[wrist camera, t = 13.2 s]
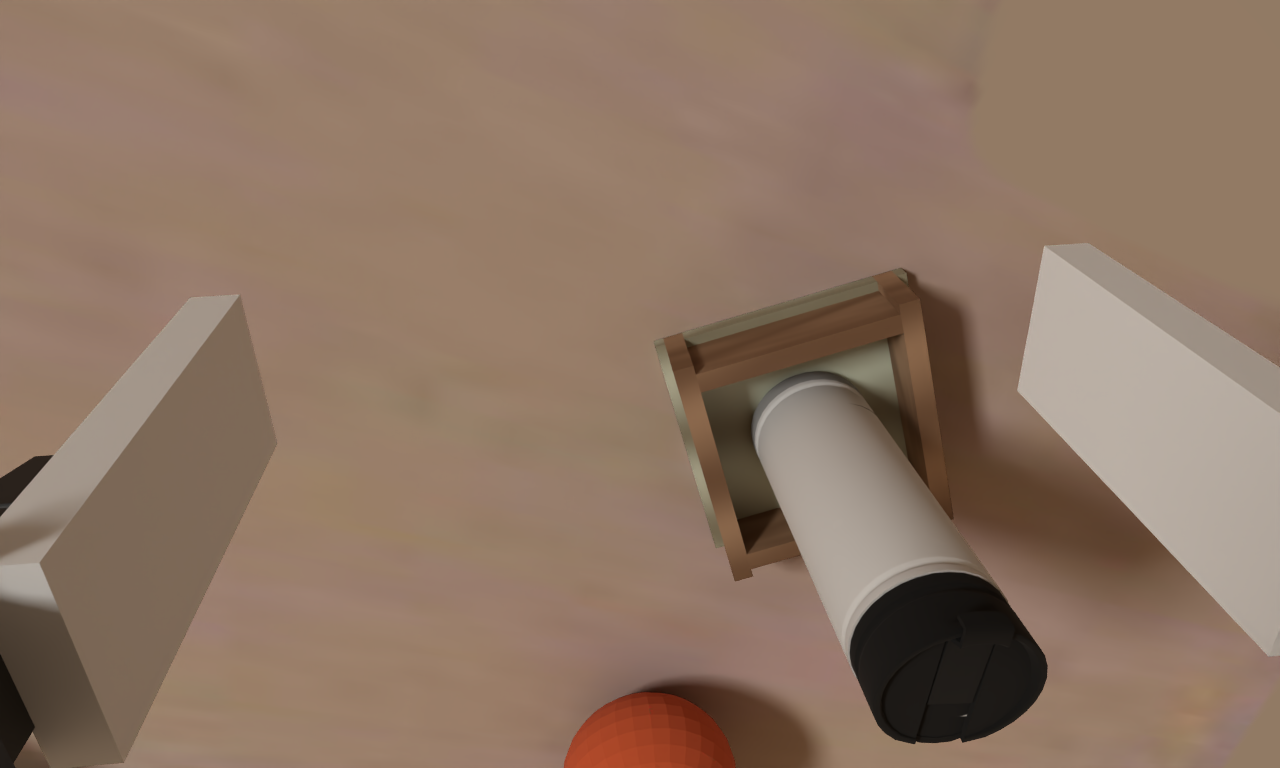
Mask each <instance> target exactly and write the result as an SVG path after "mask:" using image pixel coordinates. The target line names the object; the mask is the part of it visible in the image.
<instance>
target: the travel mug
mask: <svg viewBox="0 0 1280 768" xmlns="http://www.w3.org/2000/svg"><path fill="white" fill-rule="evenodd" d="M751 437H752V442H753V446H754V448H755V450H756V452H757V455H758V457H759V459H760V461H761V464H762V466H763V468H764V471H765V473H766V475H767V477H768V480H769V482H770V484H771V487H772V489H773V491H774V493H775V496H776V498H777V500H778V503H779V505H780V507H781V509H782V512H783V514H784V516H785V519H786V521H787V523H788V525H789V528H790V530H791V532H792V535H793V537H794V539H795V541H796V544H797V546H798V548H799V551H800V553H801V555H802V557H803V560H804V562H805V564H806V567H807V569H808V571H809V573H810V576H811V578H812V580H813V583H814V585H815V587H816V589H817V592H818V594H819V596H820V599H821V601H822V603H823V605H824V608H825V610H826V612H827V614H828V617H829V619H830V621H831V624H832V626H833V628H834V630H835V633H836V635H837V637H838V640H839V642H840V644H841V646H842V649H843V651H844V653H845V655H846V658H847V660H848V662H849V665H850V667H851V669H852V671H853V674H854V676H855V677H856V678H857V679H858V681H859V683H860V686H861V688H862V691H863V693H864V695H865V697H866V700H867V702H868V704H869V706H870V709H871V711H872V713H873V716H874V718H875V720H876V722H877V724H878V726H879V727H880V728H881V729H882V730H883V731H884V733H886V734H887V735H889V736H890V737H892V738H893V739H895V740H898V741H903V742H907V743H911V744H915V742H916V741H917V742H921V743H940V742H949V741H953V740H956V739H958V738H961V740H962V742H967V741H971V740H975V739H979V738H983V737H986V736H988V735H990V734H993V733H995V732H997V731H999V730H1001V729H1002V728H1004V727H1006V726H1007V725H1009V724H1011V723H1012V722H1014V721H1015V720H1016V719H1017V718H1019V717H1020V716H1021V715H1022V714H1024V713H1025V712H1026V711H1027V710H1028V709H1029V708H1030V707H1031V705H1032V704H1033V703H1034V702H1035V701H1036V700H1037V698H1038V696H1039V695H1040V693H1041V692H1042V690H1043V687H1044V684H1045V682H1046V679H1047V662H1046V658H1045V655H1044V653H1043V652H1042V650H1041V649H1040V647H1039V646H1038V645H1037V643H1036V642H1035V640H1034V639H1033V638H1032V636H1031V635H1030V633H1029V632H1028V630H1027V629H1026V628H1025V626H1024V625H1023V623H1022V622H1021V621H1020V619H1019V618H1018V616H1017V615H1016V613H1015V612H1014V611H1013V610H1012V608H1011V607H1010V605H1009V603H1008V600H1007V599H1006V597H1005V596H1004V594H1003V593H1002V591H1001V590H1000V588H999V587H998V585H997V584H996V583H995V582H994V580H993V579H992V577H991V576H990V574H989V573H988V571H987V570H986V569H985V567H984V566H983V564H982V563H981V562H980V560H979V559H978V557H977V556H976V555H975V553H974V552H973V550H972V549H971V548H970V546H969V545H968V543H967V542H966V541H965V539H964V538H963V536H962V535H961V534H960V532H959V531H958V529H957V528H956V527H955V525H954V524H953V522H952V521H951V520H950V518H949V517H948V515H947V514H946V513H945V511H944V510H943V508H942V507H941V506H940V504H939V503H938V501H937V500H936V499H935V497H934V496H933V494H932V493H931V492H930V490H929V489H928V487H927V486H926V485H925V483H924V482H923V480H922V479H921V477H920V476H919V475H918V473H917V472H916V470H915V469H914V468H913V466H912V465H911V463H910V462H909V461H908V459H907V458H906V456H905V455H904V454H903V452H902V451H901V449H900V448H899V447H898V445H897V444H896V442H895V441H894V440H893V438H892V437H891V435H890V434H889V433H888V431H887V430H886V428H885V427H884V426H883V424H882V423H881V421H880V420H879V419H878V417H877V416H876V414H875V413H874V412H873V410H872V409H871V407H870V406H869V405H868V403H867V402H866V400H865V399H864V398H863V396H862V395H861V393H860V392H859V391H858V389H857V388H856V387H855V386H854V385H853V384H852V383H851V382H850V381H848V380H846V379H845V378H843V377H841V376H839V375H836V374H833V373H830V372H821V371H814V372H805V373H801V374H797V375H794V376H792V377H789V378H787V379H785V380H783V381H782V382H780V383H779V384H777V385H776V386H774V387H773V388H772V389H771V390H770V391H769V392H768V393H767V394H766V395H765V396H764V397H763V399H762V400H761V401H760V403H759V404H758V406H757V408H756V410H755V412H754V415H753V419H752V423H751Z"/></svg>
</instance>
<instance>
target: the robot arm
mask: <svg viewBox="0 0 1280 768" xmlns="http://www.w3.org/2000/svg"><path fill="white" fill-rule="evenodd" d="M1017 391H1018V392H1019V393H1020V394H1021V395H1022V396H1023V397H1024V398H1025V399H1026V400H1027V401H1028V402H1029V403H1030V404H1031V405H1032V407H1033V408H1034V409H1035V410H1036V411H1037V412H1038V413H1039V414H1040V415H1041V416H1042V417H1043V418H1044V419H1045V420H1046V421H1047V422H1048V423H1049V425H1050V426H1051V427H1052V428H1053V429H1054V430H1055V431H1056V432H1057V433H1058V434H1059V435H1060V436H1061V437H1062V438H1063V439H1064V440H1065V441H1066V443H1067V444H1068V445H1069V446H1070V447H1071V448H1072V449H1073V450H1074V451H1075V452H1076V453H1077V454H1078V455H1079V456H1080V457H1081V458H1082V459H1083V461H1084V462H1085V463H1086V464H1087V465H1088V466H1089V467H1090V468H1091V469H1092V470H1093V471H1094V472H1095V473H1096V474H1097V475H1098V476H1099V477H1100V479H1101V480H1102V481H1103V482H1104V483H1105V484H1106V485H1107V486H1108V487H1109V488H1110V489H1111V490H1112V491H1113V492H1114V493H1115V494H1116V495H1117V497H1118V498H1119V499H1120V500H1121V501H1122V502H1123V503H1124V504H1125V505H1126V506H1127V507H1128V508H1129V509H1130V510H1131V511H1132V512H1133V513H1134V515H1135V516H1136V517H1137V518H1138V519H1139V520H1140V521H1141V522H1142V523H1143V524H1144V525H1145V526H1146V527H1147V528H1148V529H1149V530H1150V531H1151V533H1152V534H1153V535H1154V536H1155V537H1156V538H1157V539H1158V540H1159V541H1160V542H1161V543H1162V544H1163V545H1164V546H1165V547H1166V548H1167V549H1168V551H1169V552H1170V553H1171V554H1172V555H1173V556H1174V557H1175V558H1176V559H1177V560H1178V561H1179V562H1180V563H1181V564H1182V565H1183V566H1184V567H1185V569H1186V570H1187V571H1188V572H1189V573H1190V574H1191V575H1192V576H1193V577H1194V578H1195V579H1196V580H1197V581H1198V582H1199V583H1200V584H1201V585H1202V587H1203V588H1204V589H1205V590H1206V591H1207V592H1208V593H1209V594H1210V595H1211V596H1212V597H1213V598H1214V599H1215V600H1216V601H1217V602H1218V603H1219V604H1220V606H1221V607H1222V608H1223V609H1224V610H1225V611H1226V612H1227V613H1228V614H1229V615H1230V616H1231V617H1232V618H1233V619H1234V620H1235V621H1236V622H1237V624H1238V625H1239V626H1240V627H1241V628H1242V629H1243V630H1244V631H1245V632H1246V633H1247V634H1248V635H1249V636H1250V637H1251V638H1252V639H1253V640H1254V642H1255V643H1256V644H1257V645H1258V646H1259V647H1260V648H1261V649H1262V650H1263V651H1264V652H1265V653H1266V654H1267V655H1268V656H1269V657H1270V656H1280V367H1278V366H1277V365H1275V364H1274V363H1272V362H1271V361H1269V360H1267V359H1266V358H1264V357H1263V356H1261V355H1260V354H1258V353H1257V352H1255V351H1254V350H1252V349H1251V348H1249V347H1247V346H1246V345H1244V344H1243V343H1241V342H1240V341H1238V340H1237V339H1235V338H1234V337H1232V336H1231V335H1229V334H1227V333H1226V332H1224V331H1223V330H1221V329H1220V328H1218V327H1217V326H1215V325H1214V324H1212V323H1211V322H1209V321H1207V320H1206V319H1204V318H1203V317H1201V316H1200V315H1198V314H1197V313H1195V312H1194V311H1192V310H1191V309H1189V308H1187V307H1186V306H1184V305H1183V304H1181V303H1180V302H1178V301H1177V300H1175V299H1174V298H1172V297H1171V296H1169V295H1167V294H1166V293H1164V292H1163V291H1161V290H1160V289H1158V288H1157V287H1155V286H1154V285H1152V284H1151V283H1149V282H1147V281H1146V280H1144V279H1143V278H1141V277H1140V276H1138V275H1137V274H1135V273H1134V272H1132V271H1131V270H1129V269H1127V268H1126V267H1124V266H1123V265H1121V264H1120V263H1118V262H1117V261H1115V260H1114V259H1112V258H1111V257H1109V256H1107V255H1106V254H1104V253H1103V252H1101V251H1100V250H1098V249H1097V248H1095V247H1094V246H1092V245H1091V244H1089V243H1083V244H1066V245H1049V246H1044V250H1043V255H1042V261H1041V266H1040V272H1039V277H1038V282H1037V288H1036V293H1035V299H1034V304H1033V309H1032V315H1031V320H1030V325H1029V331H1028V336H1027V342H1026V347H1025V352H1024V358H1023V363H1022V369H1021V374H1020V379H1019V385H1018V390H1017ZM276 445H277V439H276V435H275V431H274V427H273V423H272V419H271V415H270V411H269V407H268V403H267V399H266V396H265V392H264V388H263V384H262V380H261V376H260V372H259V368H258V364H257V360H256V356H255V352H254V348H253V344H252V340H251V336H250V332H249V328H248V324H247V320H246V316H245V312H244V308H243V304H242V300H241V296H240V295H224V296H207V297H191V298H189V300H188V301H187V302H186V303H185V304H184V305H183V307H182V308H181V309H180V310H179V311H178V312H177V313H176V315H175V316H174V317H173V318H172V319H171V320H170V322H169V323H168V324H167V325H166V326H165V327H164V328H163V330H162V331H161V332H160V333H159V334H158V335H157V337H156V338H155V339H154V340H153V341H152V342H151V343H150V345H149V346H148V347H147V348H146V349H145V350H144V352H143V353H142V354H141V355H140V356H139V357H138V358H137V360H136V361H135V362H134V363H133V364H132V365H131V367H130V368H129V369H128V370H127V371H126V372H125V374H124V375H123V376H122V377H121V378H120V379H119V380H118V382H117V383H116V384H115V385H114V386H113V387H112V389H111V390H110V391H109V392H108V393H107V394H106V395H105V397H104V398H103V399H102V400H101V401H100V402H99V404H98V405H97V406H96V407H95V408H94V409H93V410H92V412H91V413H90V414H89V415H88V416H87V417H86V419H85V420H84V421H83V422H82V423H81V424H80V425H79V427H78V428H77V429H76V430H75V431H74V432H73V434H72V435H71V436H70V437H69V438H68V439H67V441H66V442H65V443H64V444H63V445H62V446H61V447H60V449H59V450H58V451H57V452H56V453H55V454H54V455H49V456H35V457H33V458H32V459H30V460H28V461H27V462H25V463H24V464H22V465H21V466H19V467H17V468H16V469H14V470H13V471H11V472H9V473H8V474H6V475H5V476H3V477H2V478H0V768H15V766H14V764H13V763H14V761H15V760H16V758H17V756H18V755H19V753H20V751H21V750H22V748H23V746H24V745H25V743H26V741H27V740H28V738H29V737H30V735H31V733H32V732H33V733H34V735H35V737H36V739H37V741H38V743H39V746H40V748H41V750H42V752H43V754H44V756H45V758H46V760H47V762H48V764H49V766H50V768H72V767H83V766H93V765H104V764H115V763H124V761H125V759H126V757H127V755H128V753H129V751H130V749H131V747H132V745H133V743H134V741H135V739H136V736H137V734H138V732H139V730H140V728H141V726H142V724H143V722H144V720H145V718H146V716H147V714H148V712H149V709H150V707H151V705H152V703H153V701H154V699H155V697H156V695H157V693H158V691H159V689H160V687H161V684H162V682H163V680H164V678H165V676H166V674H167V672H168V670H169V668H170V666H171V664H172V662H173V660H174V657H175V655H176V653H177V651H178V649H179V647H180V645H181V643H182V641H183V639H184V637H185V635H186V632H187V630H188V628H189V626H190V624H191V622H192V620H193V618H194V616H195V614H196V612H197V610H198V607H199V605H200V603H201V601H202V599H203V597H204V595H205V593H206V591H207V589H208V587H209V585H210V583H211V580H212V578H213V576H214V574H215V572H216V570H217V568H218V566H219V564H220V562H221V560H222V558H223V555H224V553H225V551H226V549H227V547H228V545H229V543H230V541H231V539H232V537H233V535H234V533H235V531H236V528H237V526H238V524H239V522H240V520H241V518H242V516H243V514H244V512H245V510H246V508H247V506H248V503H249V501H250V499H251V497H252V495H253V493H254V491H255V489H256V487H257V485H258V483H259V481H260V479H261V476H262V474H263V472H264V470H265V468H266V466H267V464H268V462H269V460H270V458H271V456H272V454H273V451H274V449H275V447H276Z"/></svg>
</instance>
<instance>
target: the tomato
mask: <svg viewBox="0 0 1280 768" xmlns="http://www.w3.org/2000/svg"><path fill="white" fill-rule="evenodd" d="M564 768H735V760H734V757H733V754H732V752H731V749H730V746H729V744H728V741H727V738H726V737H725V735H724V734H723V732H722V731H721V730H720V728H719V727H718V725H717V724H716V723H715V721H714V720H713V719H712V718H711V717H710V716H709V715H708V714H707V713H706V712H704V711H703V710H702V709H701V708H699V707H698V706H696V705H695V704H693V703H691V702H689V701H688V700H686V699H684V698H681V697H678V696H675V695H671V694H665V693H650V692H641V693H634V694H630V695H627V696H623V697H620V698H618V699H616V700H614V701H612V702H610V703H608V704H606V705H604V706H603V707H601V708H600V709H598V710H597V711H596V712H594V713H593V714H592V715H591V716H590V717H589V718H588V719H587V720H586V722H585V723H584V724H583V725H582V726H581V728H580V729H579V731H578V732H577V734H576V735H575V737H574V738H573V740H572V743H571V745H570V748H569V751H568V753H567V756H566V759H565V762H564Z"/></svg>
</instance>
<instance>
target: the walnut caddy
mask: <svg viewBox="0 0 1280 768" xmlns="http://www.w3.org/2000/svg"><path fill="white" fill-rule="evenodd" d="M654 344H655V348H656V351H657V354H658V358H659V361H660V364H661V368H662V371H663V374H664V378H665V381H666V384H667V388H668V391H669V394H670V397H671V401H672V404H673V407H674V411H675V414H676V417H677V421H678V424H679V427H680V431H681V434H682V437H683V441H684V444H685V447H686V450H687V454H688V457H689V460H690V464H691V467H692V470H693V474H694V477H695V480H696V484H697V487H698V490H699V494H700V497H701V500H702V503H703V507H704V510H705V513H706V517H707V520H708V523H709V527H710V530H711V533H712V537H713V540H714V543H715V547H716V548H719V547H723V546H725V549H726V553H727V556H728V559H729V563H730V566H731V570H732V573H733V576H734V580H735V581H738V580H742V579H745V578H749V577H752V576H753V574H752V571H751V569H753V568H757V567H760V566H764V565H767V564H771V563H774V562H778V561H781V560H785V559H788V558H792V557H795V556H799V555H801V553H800V551H799V548H798V546H797V544H796V541H795V539H794V537H793V535H792V532H791V530H790V528H789V525H788V523H787V521H786V519H785V516H784V514H783V512H782V509H781V507H780V505H779V503H778V500H777V498H776V496H775V493H774V491H773V489H772V487H771V484H770V482H769V480H768V477H767V475H766V473H765V471H764V468H763V466H762V464H761V461H760V459H759V457H758V455H757V452H756V450H755V448H754V446H753V442H752V437H751V423H752V419H753V415H754V412H755V410H756V408H757V406H758V404H759V403H760V401H761V400H762V399H763V397H764V396H765V395H766V394H767V393H768V392H769V391H770V390H771V389H772V388H773V387H774V386H776V385H777V384H779V383H780V382H782V381H783V380H785V379H787V378H789V377H792V376H794V375H797V374H801V373H805V372H814V371H821V372H830V373H833V374H836V375H839V376H841V377H843V378H845V379H846V380H848V381H850V382H851V383H852V384H853V385H854V386H855V387H856V388H857V389H858V391H859V392H860V393H861V395H862V396H863V398H864V399H865V400H866V402H867V403H868V405H869V406H870V407H871V409H872V410H873V412H874V413H875V414H876V416H877V417H878V419H879V420H880V421H881V423H882V424H883V426H884V427H885V428H886V430H887V431H888V433H889V434H890V435H891V437H892V438H893V440H894V441H895V442H896V444H897V445H898V447H899V448H900V449H901V451H902V452H903V454H904V455H905V456H906V458H907V459H908V461H909V462H910V463H911V465H912V466H913V468H914V469H915V470H916V472H917V473H918V475H919V476H920V477H921V479H922V480H923V482H924V483H925V485H926V486H927V487H928V489H929V490H930V492H931V493H932V494H933V496H934V497H935V499H936V500H937V501H938V503H939V504H940V506H941V507H942V508H943V510H944V511H945V513H946V514H947V515H948V517H949V518H950V520H952V519H954V518H953V511H952V505H951V498H950V492H949V485H948V479H947V472H946V466H945V459H944V453H943V446H942V439H941V433H940V426H939V420H938V413H937V407H936V400H935V394H934V387H933V381H932V374H931V367H930V361H929V354H928V348H927V341H926V335H925V328H924V322H923V315H922V309H921V302H920V298H919V297H918V296H917V295H916V294H915V293H914V292H913V291H912V290H911V289H910V288H909V286H908V280H907V273H906V272H905V271H904V270H903V269H902V268H899V269H895V270H892V271H889V272H885V273H882V274H878V275H875V276H872V277H868V278H865V279H862V280H858V281H855V282H852V283H848V284H845V285H841V286H838V287H835V288H831V289H828V290H825V291H821V292H818V293H814V294H811V295H808V296H804V297H801V298H798V299H794V300H791V301H788V302H784V303H781V304H777V305H774V306H771V307H767V308H764V309H761V310H757V311H754V312H751V313H747V314H744V315H740V316H737V317H734V318H730V319H727V320H724V321H720V322H717V323H714V324H710V325H707V326H703V327H700V328H697V329H693V330H690V331H687V332H683V333H680V334H677V335H673V336H670V337H666V338H663V339H660V340H656V341H654Z"/></svg>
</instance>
